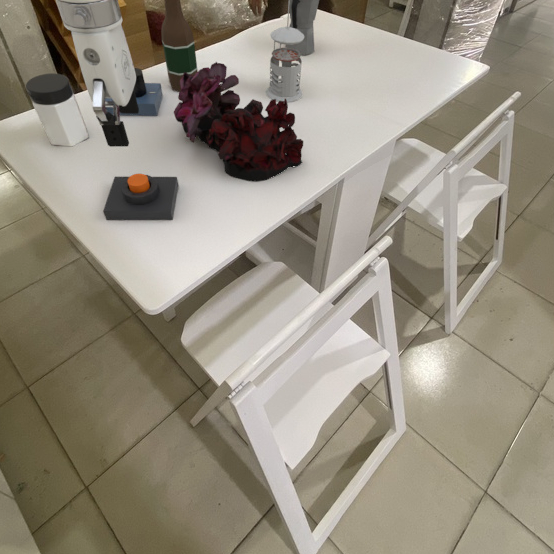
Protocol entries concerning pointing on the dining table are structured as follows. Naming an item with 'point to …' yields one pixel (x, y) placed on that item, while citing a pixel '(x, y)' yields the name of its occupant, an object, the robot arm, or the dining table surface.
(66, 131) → the jar
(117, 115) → the robot arm
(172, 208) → the switch block
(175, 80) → the beer bottle
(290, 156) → the flower arrangement
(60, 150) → the dining table surface
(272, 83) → the french press
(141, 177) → the button
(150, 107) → the dial base
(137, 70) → the temp dial
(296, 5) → the coffeepot
